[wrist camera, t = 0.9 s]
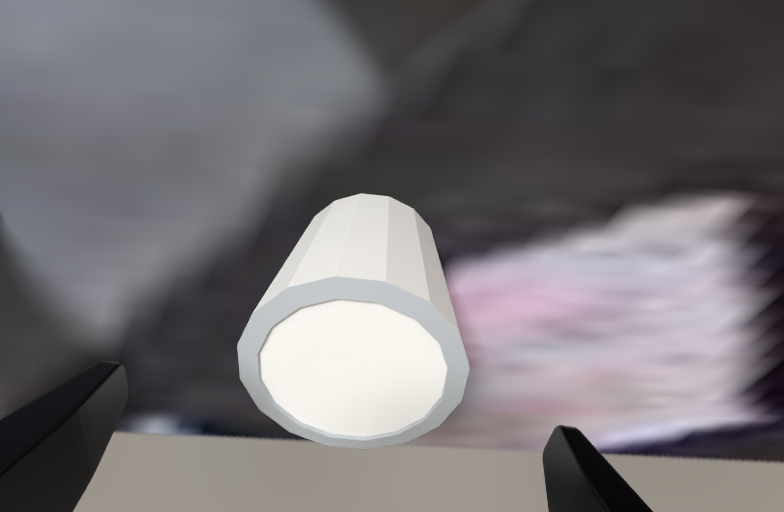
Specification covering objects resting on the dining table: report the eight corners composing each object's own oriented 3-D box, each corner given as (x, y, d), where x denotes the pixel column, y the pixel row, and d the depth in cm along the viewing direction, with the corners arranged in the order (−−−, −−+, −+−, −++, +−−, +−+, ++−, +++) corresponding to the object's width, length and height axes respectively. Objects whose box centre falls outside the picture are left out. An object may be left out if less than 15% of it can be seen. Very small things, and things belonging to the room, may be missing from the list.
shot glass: (486, 247, 20) (520, 368, 14) (382, 344, 22) (371, 480, 16) (353, 142, 18) (324, 229, 12) (257, 263, 20) (193, 384, 14)
